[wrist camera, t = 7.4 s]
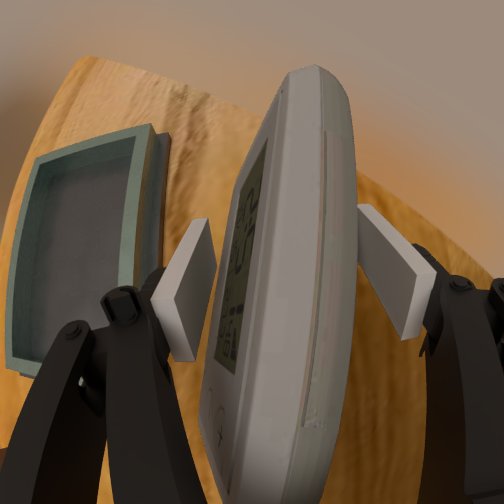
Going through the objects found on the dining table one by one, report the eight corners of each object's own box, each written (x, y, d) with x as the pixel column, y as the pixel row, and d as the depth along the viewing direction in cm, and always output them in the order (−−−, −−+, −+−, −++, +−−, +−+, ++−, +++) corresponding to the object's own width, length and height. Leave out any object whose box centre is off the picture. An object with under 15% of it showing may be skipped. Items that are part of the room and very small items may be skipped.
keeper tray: (171, 138, 26) (160, 115, 22) (166, 397, 19) (148, 406, 16) (49, 169, 26) (33, 154, 23) (26, 375, 20) (2, 375, 16)
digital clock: (246, 174, 20) (218, 43, 9) (373, 210, 18) (439, 93, 8) (159, 404, 15) (38, 449, 5) (299, 454, 14) (317, 570, 4)
